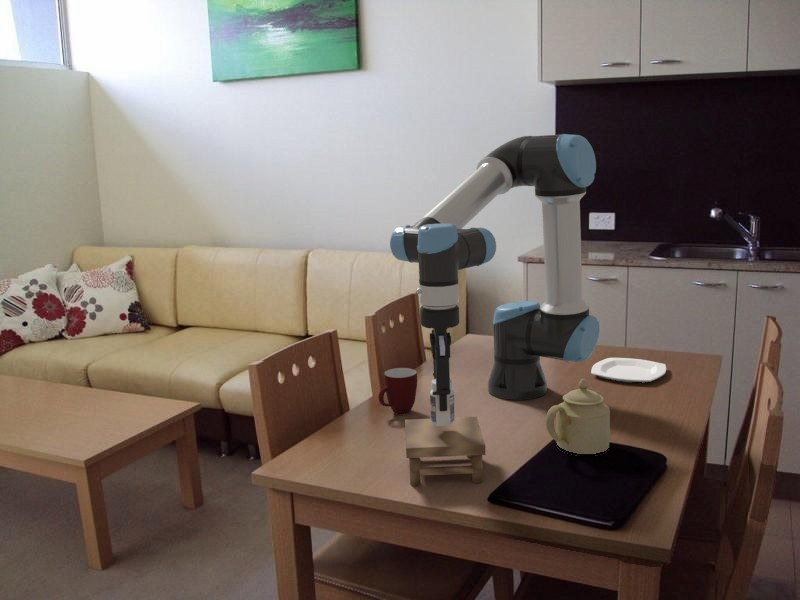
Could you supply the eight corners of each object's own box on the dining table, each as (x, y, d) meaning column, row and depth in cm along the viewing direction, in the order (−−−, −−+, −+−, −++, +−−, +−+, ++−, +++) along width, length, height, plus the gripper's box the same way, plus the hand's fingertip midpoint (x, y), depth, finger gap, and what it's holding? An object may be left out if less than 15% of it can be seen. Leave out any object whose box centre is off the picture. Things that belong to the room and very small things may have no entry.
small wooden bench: (477, 452, 161) (476, 416, 159) (486, 484, 146) (485, 444, 144) (406, 455, 161) (404, 419, 159) (407, 487, 146) (406, 448, 144)
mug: (394, 423, 179) (393, 382, 177) (371, 415, 185) (369, 376, 183) (425, 410, 186) (423, 371, 184) (401, 403, 192) (400, 365, 190)
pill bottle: (429, 418, 153) (428, 378, 152) (452, 416, 154) (451, 376, 152) (432, 426, 149) (431, 385, 147) (456, 425, 149) (455, 384, 147)
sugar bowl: (598, 467, 151) (599, 395, 148) (543, 458, 156) (543, 389, 153) (614, 440, 164) (615, 373, 161) (564, 433, 169) (564, 368, 166)
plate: (673, 369, 211) (673, 363, 211) (655, 390, 195) (655, 383, 195) (604, 361, 221) (604, 355, 221) (582, 380, 205) (582, 373, 205)
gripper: (418, 296, 155) (421, 405, 160) (421, 316, 138) (425, 438, 142) (455, 295, 155) (457, 404, 160) (463, 314, 138) (465, 436, 142)
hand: (442, 419), depth 151 cm, fingers closed on pill bottle, 5 cm apart
